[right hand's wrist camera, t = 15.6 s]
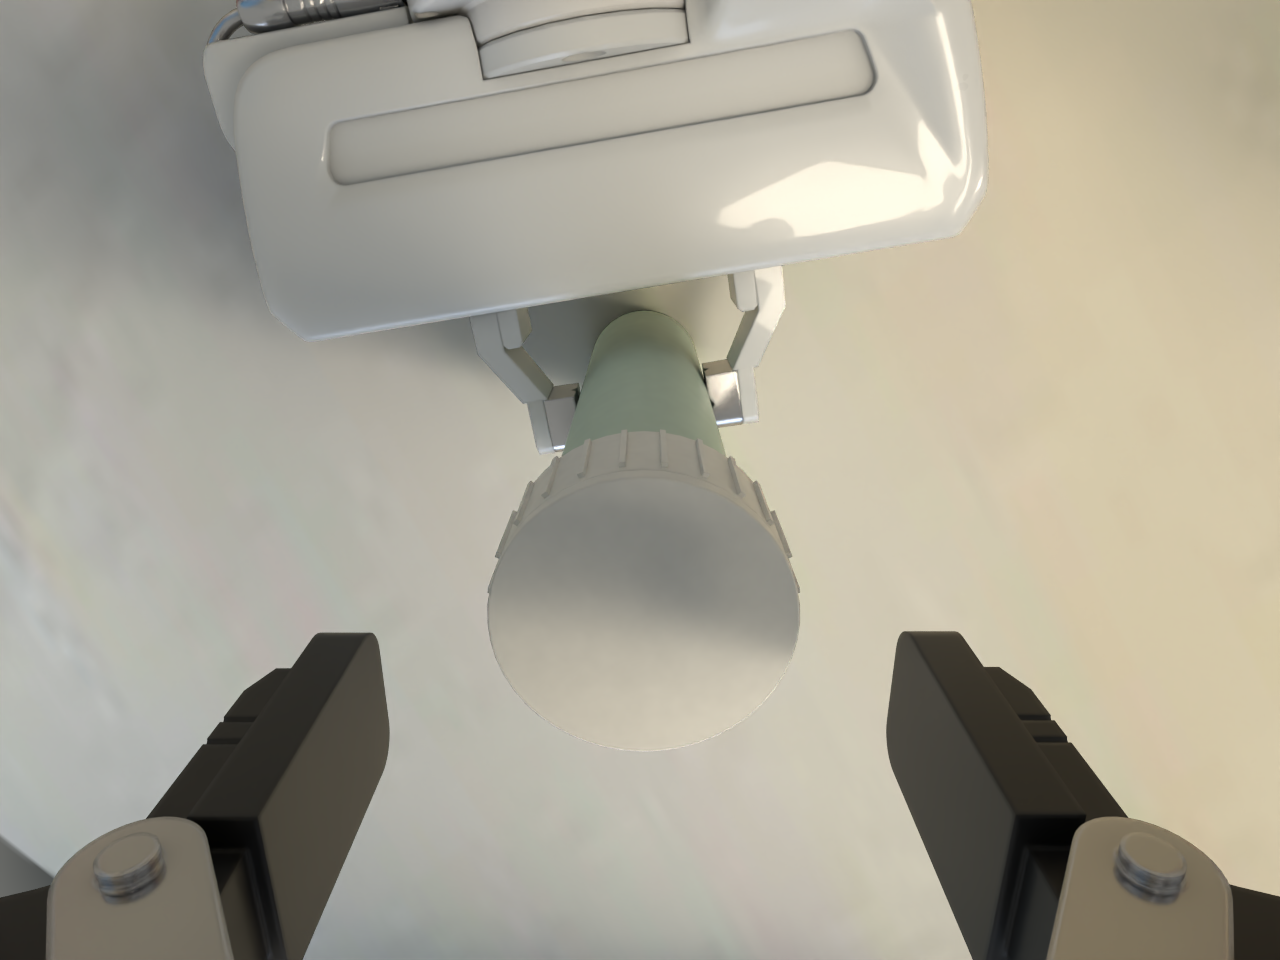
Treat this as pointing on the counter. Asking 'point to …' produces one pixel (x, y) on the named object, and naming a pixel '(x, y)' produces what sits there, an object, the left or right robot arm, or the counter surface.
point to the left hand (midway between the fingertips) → (649, 433)
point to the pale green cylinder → (644, 384)
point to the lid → (643, 593)
